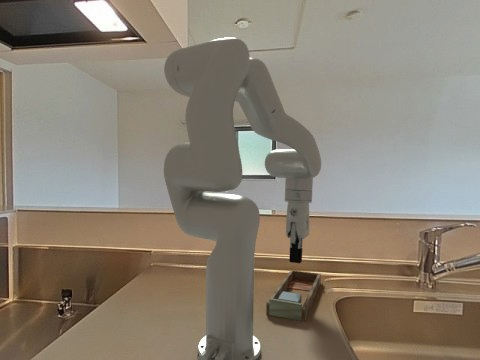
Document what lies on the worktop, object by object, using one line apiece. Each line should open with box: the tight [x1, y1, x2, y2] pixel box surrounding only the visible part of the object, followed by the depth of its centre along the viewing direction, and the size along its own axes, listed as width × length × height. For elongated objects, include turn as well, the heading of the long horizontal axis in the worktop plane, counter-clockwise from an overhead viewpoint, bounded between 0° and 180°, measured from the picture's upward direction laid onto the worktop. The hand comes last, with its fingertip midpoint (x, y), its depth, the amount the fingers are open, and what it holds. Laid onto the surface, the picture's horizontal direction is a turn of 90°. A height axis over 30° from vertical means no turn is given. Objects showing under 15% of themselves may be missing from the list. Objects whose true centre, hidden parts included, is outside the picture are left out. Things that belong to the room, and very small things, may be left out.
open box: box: [265, 269, 322, 322], centre depth 94 cm, size 28×10×4 cm, turn 158°
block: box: [278, 291, 303, 303], centre depth 85 cm, size 5×5×4 cm
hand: (295, 262), depth 92 cm, fingers closed
